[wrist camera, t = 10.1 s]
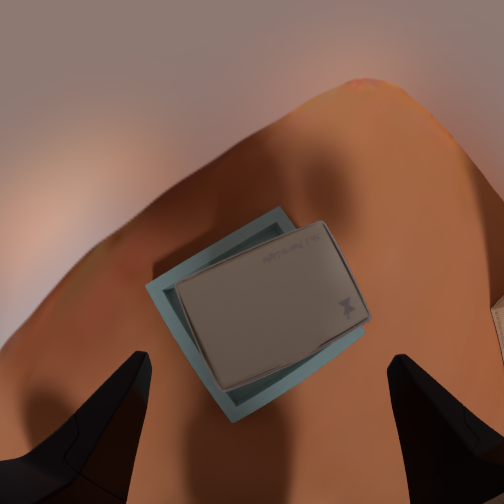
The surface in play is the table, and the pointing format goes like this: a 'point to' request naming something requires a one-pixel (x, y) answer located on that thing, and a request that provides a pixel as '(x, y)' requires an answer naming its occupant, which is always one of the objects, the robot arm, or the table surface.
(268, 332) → the skincare box
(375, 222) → the table surface
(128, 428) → the robot arm
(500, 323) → the coffeecake box
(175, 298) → the tray
